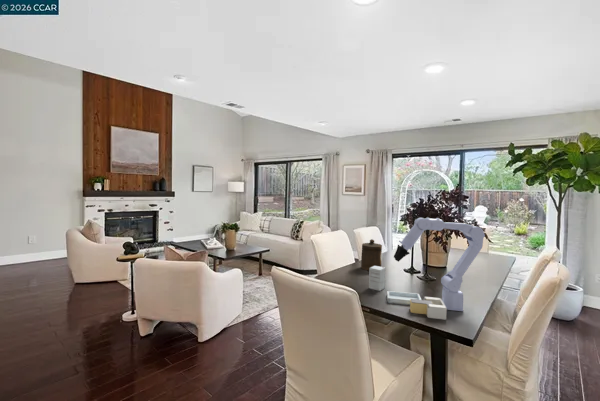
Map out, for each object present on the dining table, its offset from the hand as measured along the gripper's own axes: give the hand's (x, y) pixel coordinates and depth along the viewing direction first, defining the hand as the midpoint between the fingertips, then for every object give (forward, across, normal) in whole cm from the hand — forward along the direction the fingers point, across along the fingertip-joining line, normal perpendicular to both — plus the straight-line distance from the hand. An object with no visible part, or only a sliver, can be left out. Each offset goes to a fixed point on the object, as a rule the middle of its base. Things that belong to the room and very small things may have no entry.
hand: (395, 259), depth 156 cm
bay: (+10, +4, +28) cm, 31 cm away
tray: (+16, -10, +17) cm, 26 cm away
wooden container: (+21, -71, 0) cm, 74 cm away
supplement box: (+23, -26, +5) cm, 35 cm away
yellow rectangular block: (+14, +4, +24) cm, 28 cm away
